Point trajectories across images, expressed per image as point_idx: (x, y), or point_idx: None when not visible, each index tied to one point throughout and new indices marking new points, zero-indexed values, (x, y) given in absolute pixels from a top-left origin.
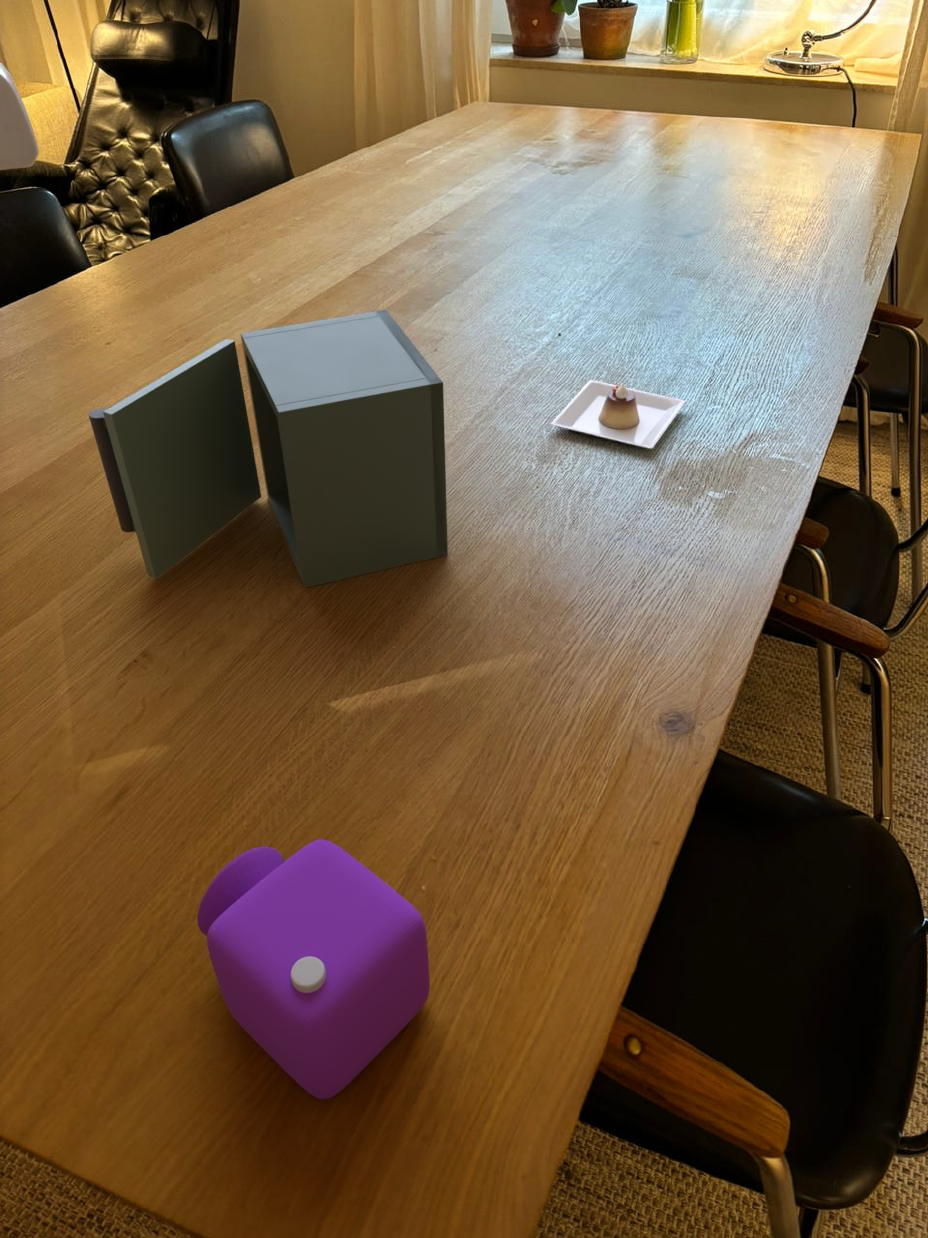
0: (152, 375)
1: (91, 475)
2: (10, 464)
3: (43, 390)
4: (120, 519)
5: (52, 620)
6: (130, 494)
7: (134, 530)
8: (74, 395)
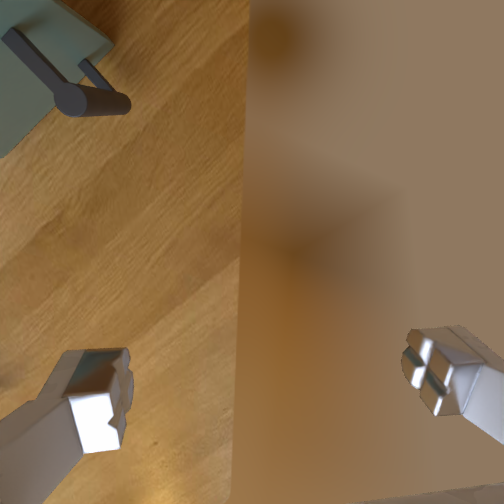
0: None
1: (171, 253)
2: (238, 290)
3: (209, 389)
4: (124, 96)
5: (211, 19)
6: (71, 10)
7: (115, 90)
8: (184, 376)
